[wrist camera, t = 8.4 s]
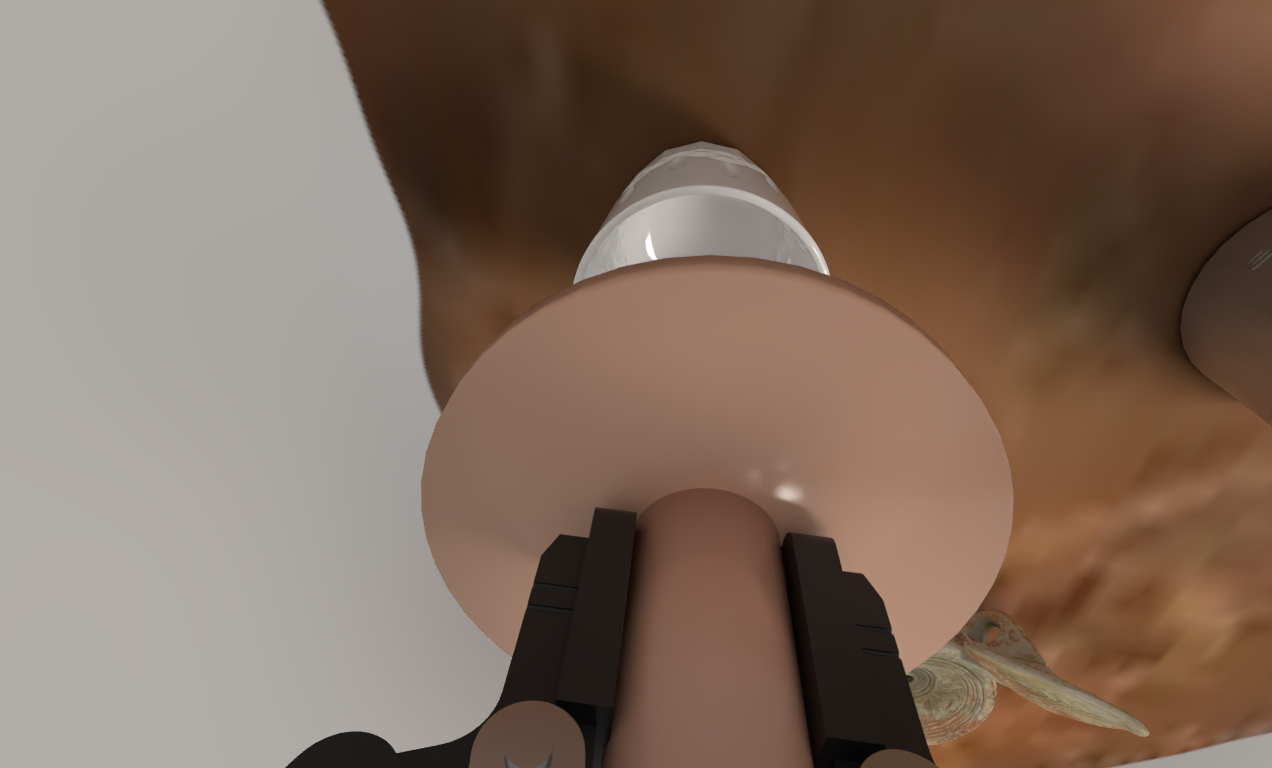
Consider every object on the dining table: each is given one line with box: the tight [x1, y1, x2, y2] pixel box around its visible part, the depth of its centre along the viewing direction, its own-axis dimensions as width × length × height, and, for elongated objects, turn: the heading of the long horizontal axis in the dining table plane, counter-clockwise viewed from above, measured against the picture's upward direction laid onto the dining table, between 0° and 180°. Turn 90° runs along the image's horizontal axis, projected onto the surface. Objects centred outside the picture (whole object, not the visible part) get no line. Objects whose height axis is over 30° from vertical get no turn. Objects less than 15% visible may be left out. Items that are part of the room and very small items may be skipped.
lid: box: [421, 255, 1014, 768], centre depth 10 cm, size 10×10×6 cm
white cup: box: [573, 141, 830, 284], centre depth 24 cm, size 8×8×10 cm
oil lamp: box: [906, 610, 1149, 746], centre depth 37 cm, size 9×21×10 cm, turn 142°
